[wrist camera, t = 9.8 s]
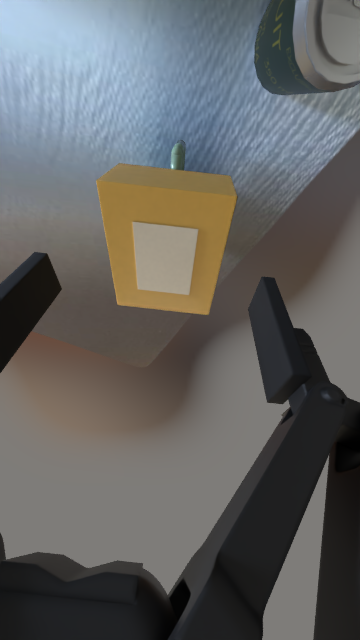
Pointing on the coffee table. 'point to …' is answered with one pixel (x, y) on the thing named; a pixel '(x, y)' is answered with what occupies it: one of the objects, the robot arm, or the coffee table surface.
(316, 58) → the beer can
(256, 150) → the coffee table surface
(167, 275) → the tea packet
